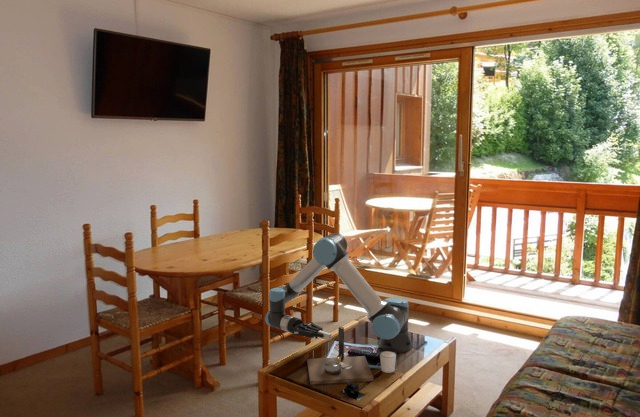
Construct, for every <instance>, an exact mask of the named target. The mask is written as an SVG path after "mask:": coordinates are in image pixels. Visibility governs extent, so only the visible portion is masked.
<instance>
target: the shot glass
mask: <svg viewBox="0 0 640 417" xmlns="http://www.w3.org/2000/svg"><path fill="white" fill-rule="evenodd" d="M396 358H397V354H396V353H395V352H391V351H385V350H384V351H381V352H380V353H379V359H380V370H381V371H382V372H383V373H386V374H387V373H388V374H389V373H394V372H395V371H396V369H395V368H396V361H397V359H396Z"/></svg>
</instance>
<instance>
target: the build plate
mask: <svg viewBox="0 0 640 417" xmlns="http://www.w3.org/2000/svg"><path fill="white" fill-rule="evenodd" d="M338 394H340V395H343V396H345V397H347V398H351V399H353V400H355V401H360V400H361V399H362V398H364V397H365V396H366V393H363V392H360V386H359V384H358V382H346V385H345V388H343V389H342V390H339V392H338Z"/></svg>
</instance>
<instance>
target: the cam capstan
mask: <svg viewBox="0 0 640 417" xmlns="http://www.w3.org/2000/svg"><path fill="white" fill-rule="evenodd" d="M337 329H338V355H337V356H335V357H336V358H335V357H334V358H335V360H334V361H330V362H327V363H325V365H324V370H325V372H326V373H328V374H338V373H340V372H341V364H340V361H341V359H344V357H345V328H344V327H343V326H339V327H338V328H337Z"/></svg>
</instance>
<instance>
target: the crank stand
mask: <svg viewBox="0 0 640 417" xmlns="http://www.w3.org/2000/svg"><path fill="white" fill-rule="evenodd" d="M336 357H337V356H335V357H322V358H321V357H319V358H318V357H317V358H306V363H307V364H306V365H307V370H308V372H307V373H308V376H309V377H308V378H309V383H310V384H309V385H322V384H323V385H325V384H340V383H342V384H343V383H346V384H347V383H349V382H354V383H361V382H374V380H375V379H374V378H375V376H374V375H373V372H372V370H371V367H370V365H369V363H368V362H369V361H367V358H366V356H365V355H361V356H359V355H358V356H357V355H356V356H344V359H341V361H340V364H341V372H340V373H338V374H328V373H326V372H325V370H324V365H325V363H327V362H330V361H334V360H335V358H336Z"/></svg>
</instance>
